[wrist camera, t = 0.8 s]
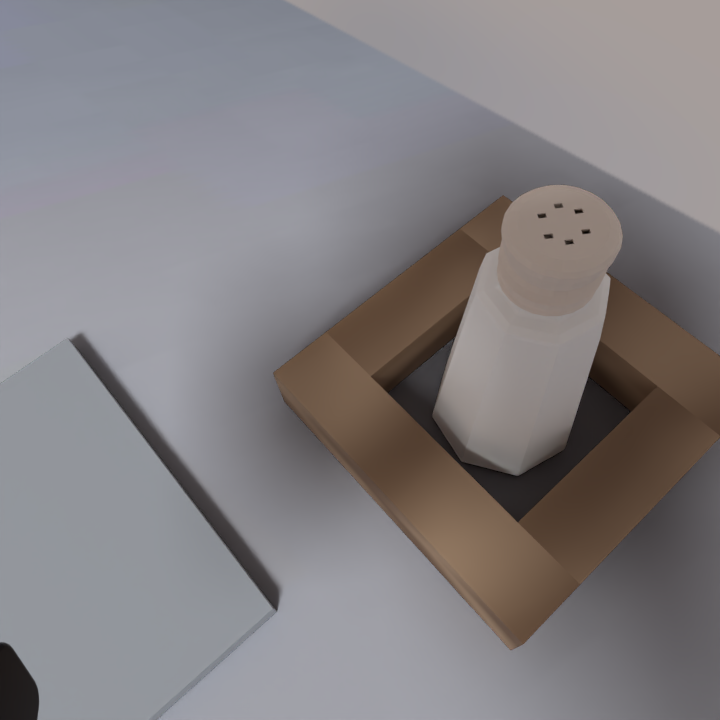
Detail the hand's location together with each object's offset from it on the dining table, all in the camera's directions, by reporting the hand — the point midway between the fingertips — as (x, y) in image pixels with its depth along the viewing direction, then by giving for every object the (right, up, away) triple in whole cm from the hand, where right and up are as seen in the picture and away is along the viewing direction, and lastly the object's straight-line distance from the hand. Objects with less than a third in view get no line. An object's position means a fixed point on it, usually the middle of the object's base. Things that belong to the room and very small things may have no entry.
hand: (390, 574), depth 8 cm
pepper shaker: (+5, +1, +17) cm, 18 cm away
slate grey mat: (-13, -6, +15) cm, 21 cm away
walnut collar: (+5, +1, +17) cm, 18 cm away
